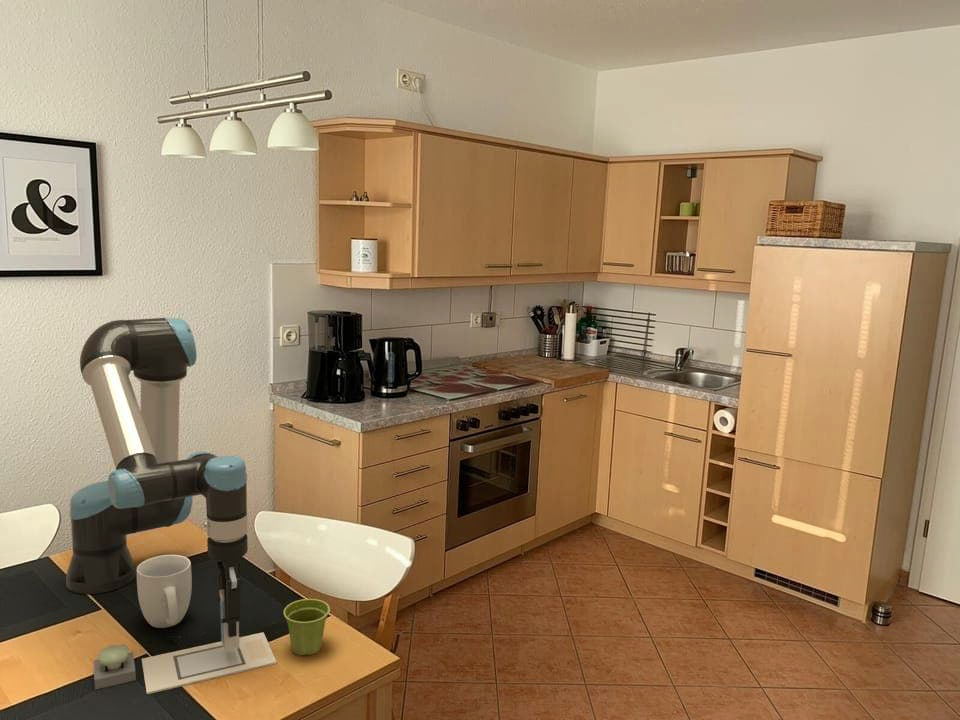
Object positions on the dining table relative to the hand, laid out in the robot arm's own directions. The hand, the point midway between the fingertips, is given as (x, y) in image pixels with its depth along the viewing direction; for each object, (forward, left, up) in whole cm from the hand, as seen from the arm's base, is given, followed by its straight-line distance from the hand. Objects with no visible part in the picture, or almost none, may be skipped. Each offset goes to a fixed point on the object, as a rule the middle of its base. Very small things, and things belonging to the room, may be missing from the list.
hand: (230, 644), depth 151 cm
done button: (-3, -21, -2) cm, 21 cm away
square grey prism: (0, 0, -1) cm, 1 cm away
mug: (-19, -10, -3) cm, 22 cm away
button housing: (-3, -21, -3) cm, 21 cm away
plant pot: (+3, +15, -3) cm, 16 cm away
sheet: (0, -4, -3) cm, 5 cm away
